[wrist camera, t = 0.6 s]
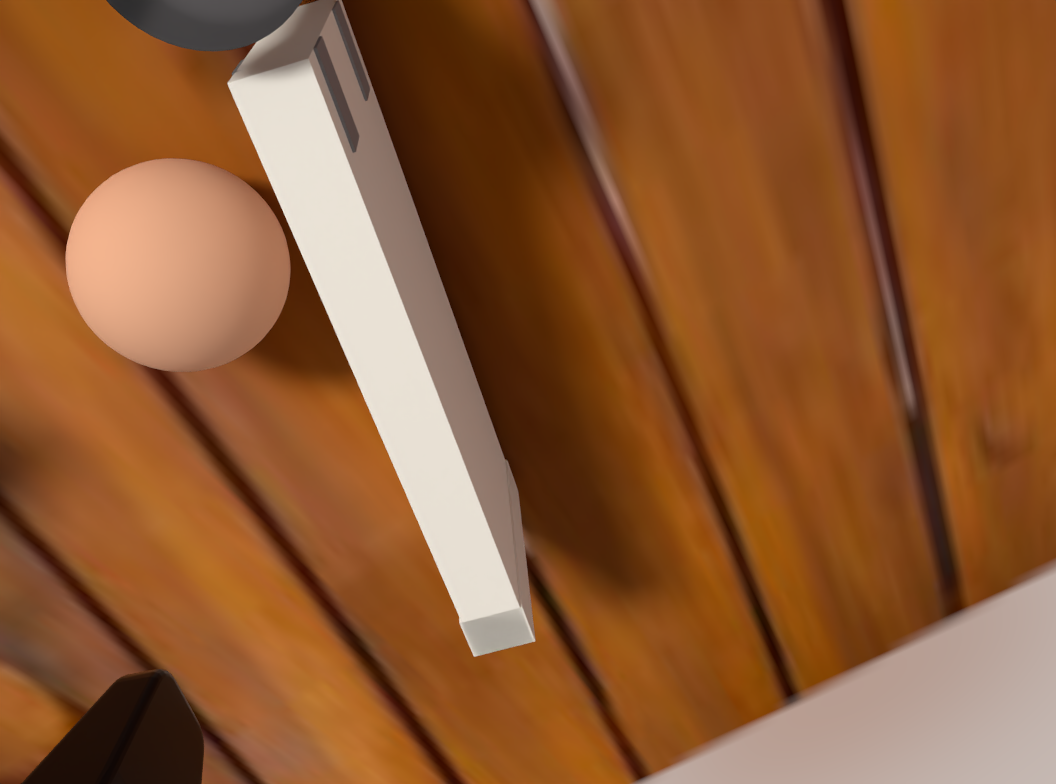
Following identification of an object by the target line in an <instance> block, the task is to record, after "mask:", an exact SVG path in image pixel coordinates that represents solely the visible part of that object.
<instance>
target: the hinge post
mask: <svg viewBox="0 0 1056 784" xmlns="http://www.w3.org/2000/svg"><path fill="white" fill-rule="evenodd" d="M107 2H108V3H109V4H110V5H111V6H112V7H113V8H114V9H115V10H116V11H118V12H119V13H120V14H121V15H122V16H123V17H124V18H125V19H127V20H128V21H129V22H131V23H132V24H133V25H135V26H136V27H138V28H139V29H141V30H143V31H144V32H146V33H148V34H149V35H151V36H153V37H155V38H157V39H160V40H162V41H164V42H167V43H169V44H173V45H176V46H179V47H182V48H187V49H193V50H199V51H223V50H232V49H236V48H240V47H244V46H247V45H250V44H252V43H255V42H257V41H259V40H261V39H263V38H265V37H266V36H268V35H270V34H271V33H273V32H274V31H275V30H276V29H278V28H279V27H280V26H282V25H283V24H284V23H285V22H286V21H287V20H288V18H289V17H290V16H291V15H292V14H293V13H294V11H295V10H296V9H297V7H298V6H299V4H300V3H301V2H302V0H107Z"/></svg>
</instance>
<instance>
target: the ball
mask: <svg viewBox="0 0 1056 784" xmlns="http://www.w3.org/2000/svg"><path fill="white" fill-rule="evenodd" d="M290 271H291V268H290V256H289V251H288V246H287V241H286V238H285V235H284V233H283V230H282V227H281V225H280V224H279V222H278V220H277V218H276V216H275V214H274V213H273V212H272V210H271V209H270V207H269V206H268V204H267V203H266V202H265V201H264V199H263V198H262V197H261V196H260V195H259V194H258V193H257V192H256V191H255V190H254V189H253V188H252V187H250V186H249V185H248V184H247V183H245V182H244V181H243V180H241V179H240V178H238V177H237V176H235V175H233V174H231V173H230V172H228V171H226V170H224V169H221V168H219V167H217V166H214V165H211V164H208V163H204V162H201V161H195V160H189V159H171V158H168V159H157V160H151V161H147V162H142V163H139V164H137V165H134V166H131V167H129V168H126V169H124V170H122V171H120V172H118V173H116V174H115V175H113V176H111V177H110V178H109V179H107V180H106V181H105V182H104V183H102V184H101V185H100V186H99V187H97V188H96V189H95V190H94V192H93V193H92V194H91V195H90V196H89V197H88V198H87V199H86V201H85V202H84V204H83V205H82V207H81V208H80V210H79V212H78V213H77V215H76V217H75V220H74V222H73V224H72V227H71V230H70V234H69V238H68V242H67V248H66V273H67V279H68V284H69V289H70V291H71V294H72V297H73V300H74V302H75V304H76V306H77V308H78V310H79V312H80V314H81V316H82V317H83V319H84V320H85V322H86V323H87V325H88V326H89V327H90V328H91V330H92V331H93V332H94V333H95V334H96V335H97V336H98V337H99V338H100V339H101V340H102V341H103V342H104V343H105V344H107V345H108V346H109V347H111V348H112V349H113V350H115V351H116V352H118V353H120V354H121V355H123V356H125V357H126V358H128V359H130V360H133V361H135V362H137V363H139V364H142V365H145V366H148V367H151V368H156V369H160V370H165V371H174V372H192V371H201V370H205V369H210V368H214V367H218V366H221V365H223V364H226V363H229V362H231V361H233V360H235V359H237V358H239V357H240V356H242V355H243V354H245V353H246V352H248V351H249V350H251V349H252V348H253V347H254V346H256V345H257V344H258V343H259V342H260V341H261V340H262V339H263V338H264V337H265V336H266V334H267V333H268V332H269V331H270V329H271V328H272V327H273V326H274V324H275V322H276V320H277V319H278V317H279V315H280V313H281V311H282V308H283V306H284V303H285V301H286V298H287V294H288V289H289V283H290Z"/></svg>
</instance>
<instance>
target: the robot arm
mask: <svg viewBox="0 0 1056 784" xmlns="http://www.w3.org/2000/svg"><path fill="white" fill-rule="evenodd" d="M203 757H204V740H203V734H202V730H201V727H200V724H199V722H198V720H197V718H196V717H195V715H194V713H193V711H192V709H191V707H190V706H189V704H188V702H187V700H186V698H185V697H184V695H183V693H182V691H181V689H180V687H179V686H178V684H177V682H176V680H175V679H174V677H173V676H172V674H171V673H169V672H168V671H166V670H163V669H156V670H150V671H145V672H139V673H134V674H128V675H125V676H123V677H121V678H119V679H118V680H116V681H115V682H114V683H113V684H112V685H111V686H110V687H109V689H108V690H107V691H106V692H105V693H104V694H103V695H102V696H101V697H100V698H99V699H98V701H97V702H96V703H95V704H94V705H93V706H92V707H91V708H90V709H89V710H88V711H87V713H86V714H85V715H84V716H83V717H82V718H81V719H80V720H79V721H78V722H77V723H76V725H75V726H74V727H73V728H72V729H71V730H70V731H69V732H68V733H67V734H66V735H65V737H64V738H63V739H62V740H61V741H60V742H59V743H58V744H57V745H56V746H55V747H54V749H53V750H52V751H51V752H50V753H49V754H48V755H47V756H46V757H45V758H44V759H43V761H42V762H41V763H40V764H39V765H38V766H37V767H36V768H35V769H34V770H33V771H32V773H31V774H30V775H29V776H28V777H27V778H26V779H25V780H24V781H23V782H22V783H21V784H201V783H202V770H203Z"/></svg>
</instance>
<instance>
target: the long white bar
mask: <svg viewBox="0 0 1056 784" xmlns="http://www.w3.org/2000/svg"><path fill="white" fill-rule="evenodd" d="M227 84H228V86H229V88H230V91H231V93H232V95H233V98H234V100H235V102H236V105H237V107H238V109H239V111H240V114H241V116H242V118H243V121H244V123H245V125H246V128H247V130H248V132H249V134H250V137H251V139H252V141H253V144H254V146H255V148H256V151H257V153H258V155H259V157H260V160H261V162H262V164H263V167H264V169H265V171H266V174H267V176H268V178H269V180H270V183H271V185H272V187H273V190H274V192H275V194H276V197H277V199H278V201H279V203H280V206H281V208H282V210H283V213H284V215H285V217H286V219H287V222H288V224H289V226H290V229H291V231H292V233H293V236H294V238H295V240H296V242H297V245H298V247H299V249H300V252H301V254H302V256H303V259H304V261H305V263H306V265H307V268H308V270H309V272H310V275H311V277H312V279H313V282H314V284H315V286H316V288H317V291H318V293H319V295H320V298H321V300H322V302H323V305H324V307H325V309H326V311H327V314H328V316H329V318H330V321H331V323H332V325H333V327H334V330H335V332H336V334H337V337H338V339H339V341H340V344H341V346H342V348H343V350H344V353H345V355H346V357H347V360H348V362H349V364H350V367H351V369H352V371H353V373H354V376H355V378H356V380H357V383H358V385H359V387H360V390H361V392H362V394H363V396H364V399H365V401H366V403H367V406H368V408H369V410H370V413H371V415H372V417H373V419H374V422H375V424H376V426H377V429H378V431H379V433H380V435H381V438H382V440H383V442H384V445H385V447H386V449H387V452H388V454H389V456H390V458H391V461H392V463H393V465H394V468H395V470H396V472H397V475H398V477H399V479H400V481H401V484H402V486H403V488H404V491H405V493H406V495H407V498H408V500H409V502H410V504H411V507H412V509H413V511H414V514H415V516H416V518H417V521H418V523H419V525H420V527H421V530H422V532H423V534H424V537H425V539H426V541H427V544H428V546H429V548H430V550H431V553H432V555H433V557H434V560H435V562H436V564H437V566H438V569H439V571H440V573H441V576H442V578H443V580H444V583H445V585H446V587H447V589H448V592H449V594H450V596H451V599H452V601H453V603H454V606H455V608H456V610H457V612H458V615H459V622H460V625H461V628H462V630H463V632H464V635H465V637H466V639H467V641H468V644H469V646H470V648H471V651H472V653H473V655H474V657H475V656H479V655H483V654H487V653H491V652H495V651H499V650H503V649H507V648H511V647H514V646H518V645H522V644H526V643H530V642H534V641H535V634H534V625H533V616H532V607H531V598H530V590H529V581H528V572H527V563H526V555H525V546H524V537H523V528H522V520H521V511H520V502H519V493H518V489H517V486H516V483H515V480H514V478H513V475H512V472H511V469H510V466H509V463H508V461H507V460H505V458H504V455H503V453H502V450H501V447H500V444H499V441H498V439H497V436H496V433H495V430H494V427H493V424H492V422H491V419H490V416H489V413H488V410H487V408H486V405H485V402H484V399H483V396H482V394H481V391H480V388H479V385H478V382H477V379H476V377H475V374H474V371H473V368H472V365H471V363H470V360H469V357H468V354H467V351H466V349H465V346H464V343H463V340H462V337H461V334H460V332H459V329H458V326H457V323H456V320H455V318H454V315H453V312H452V309H451V306H450V304H449V301H448V298H447V295H446V292H445V289H444V287H443V284H442V281H441V278H440V275H439V273H438V270H437V267H436V264H435V261H434V259H433V256H432V253H431V250H430V247H429V244H428V242H427V239H426V236H425V233H424V230H423V228H422V225H421V222H420V219H419V216H418V214H417V211H416V208H415V205H414V202H413V199H412V197H411V194H410V191H409V188H408V185H407V183H406V180H405V177H404V174H403V171H402V169H401V166H400V163H399V160H398V157H397V154H396V152H395V149H394V146H393V143H392V140H391V138H390V135H389V132H388V129H387V126H386V124H385V121H384V118H383V115H382V112H381V109H380V107H379V104H378V101H377V98H376V95H375V93H374V90H373V87H372V84H371V81H370V79H369V76H368V73H367V70H366V67H365V64H364V62H363V59H362V56H361V53H360V50H359V48H358V45H357V42H356V39H355V36H354V34H353V31H352V28H351V25H350V22H349V19H348V17H347V14H346V11H345V8H344V5H343V3H342V0H318V1H315V2H312V3H308V4H305V5H302V6H299V7H297V9H296V10H295V11H294V13H293V14H292V15H291V16H290V17H289V18H288V20H287V21H286V22H285V23H284V24H283V25H282V26H280V27H279V28H278V29H276V30H275V31H274V32H273V33H271V34H270V35H268V36H266V37H265V38H263V39H261V40H259V41H257V42H256V44H255V45H254V47H253V48H252V49H251V51H250V52H249V54H248V55H247V56H246V58H245V59H244V60H241V61H240V63H239V64H238V66H237V67H236V68H235V70H234V71H233V72H232V77H231V79H230V80H229V82H228V83H227Z"/></svg>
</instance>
